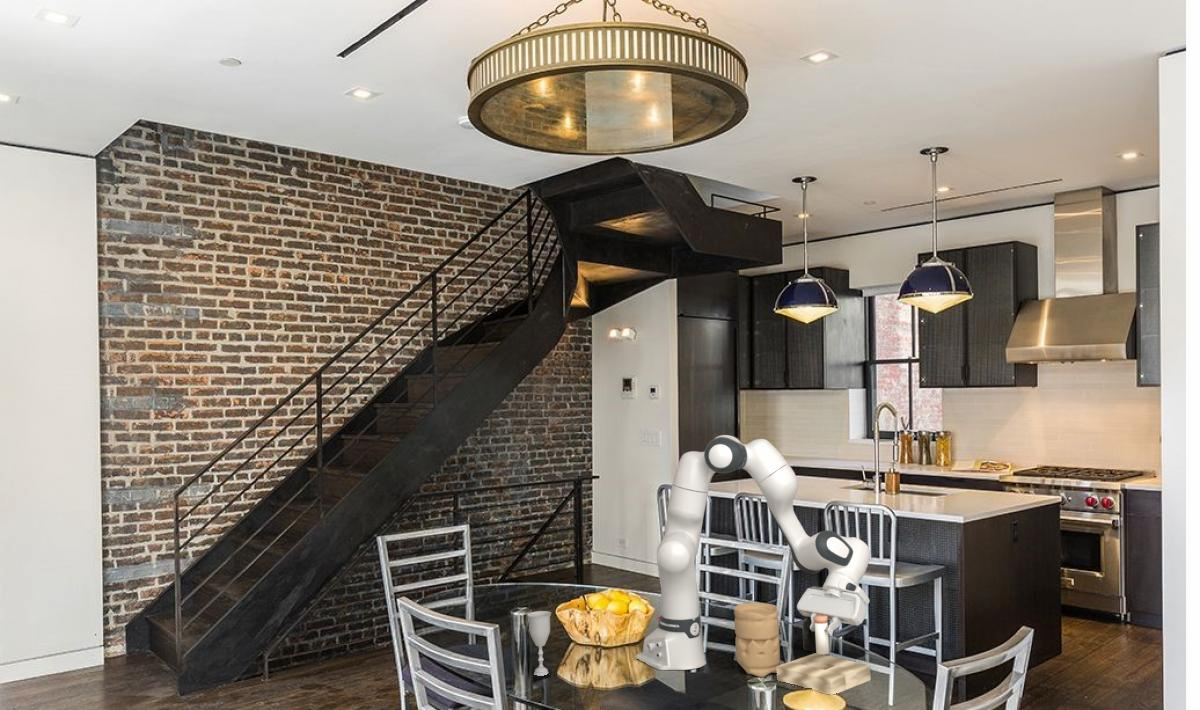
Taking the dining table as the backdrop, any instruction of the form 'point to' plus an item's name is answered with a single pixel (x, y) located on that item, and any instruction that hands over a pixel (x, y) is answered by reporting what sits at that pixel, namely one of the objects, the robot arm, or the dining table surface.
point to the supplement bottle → (808, 636)
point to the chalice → (539, 635)
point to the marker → (821, 634)
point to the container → (757, 638)
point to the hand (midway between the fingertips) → (820, 631)
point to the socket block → (824, 673)
